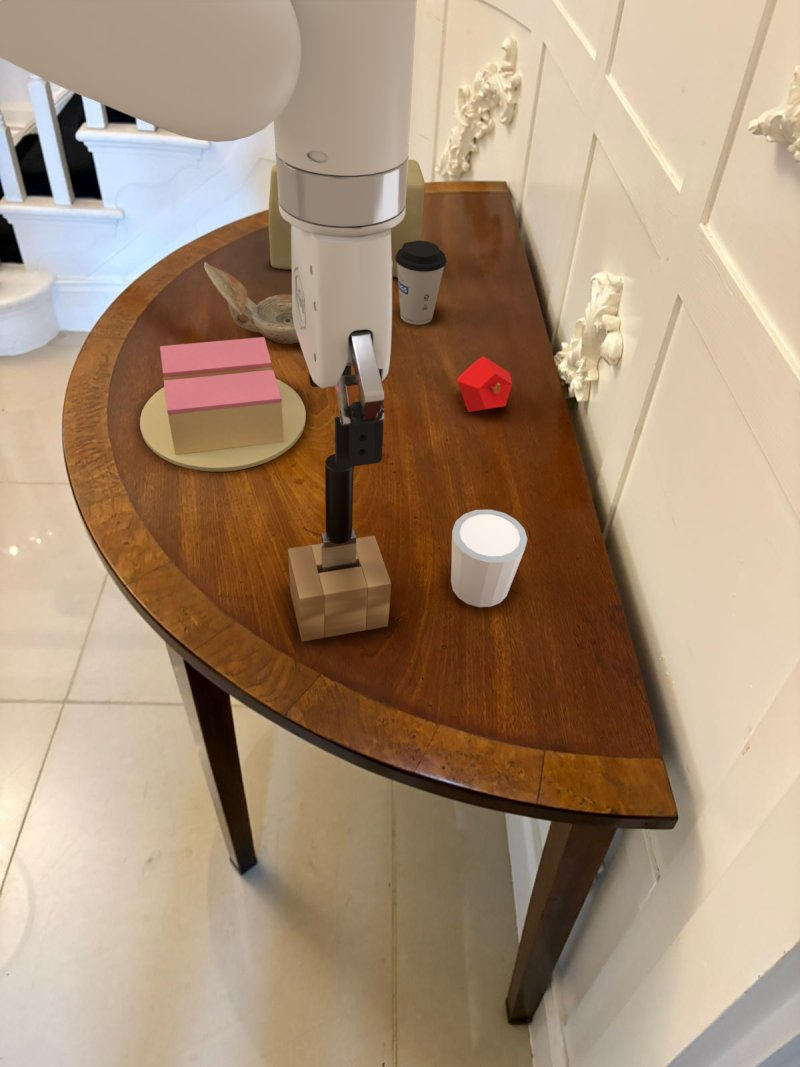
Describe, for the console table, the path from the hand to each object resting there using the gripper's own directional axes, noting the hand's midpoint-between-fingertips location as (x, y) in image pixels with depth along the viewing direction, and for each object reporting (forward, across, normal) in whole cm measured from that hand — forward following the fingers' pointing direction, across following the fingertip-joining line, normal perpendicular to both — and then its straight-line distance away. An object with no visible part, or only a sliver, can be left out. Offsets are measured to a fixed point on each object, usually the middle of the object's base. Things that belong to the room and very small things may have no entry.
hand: (343, 420), depth 58 cm
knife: (+22, 0, -1) cm, 22 cm away
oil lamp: (+22, -48, +3) cm, 53 cm away
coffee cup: (+22, -50, +21) cm, 59 cm away
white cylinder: (+22, 0, +13) cm, 26 cm away
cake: (+22, -31, -8) cm, 38 cm away
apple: (+22, -28, +23) cm, 43 cm away
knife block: (+22, 0, -1) cm, 22 cm away
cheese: (+22, -66, +14) cm, 71 cm away
